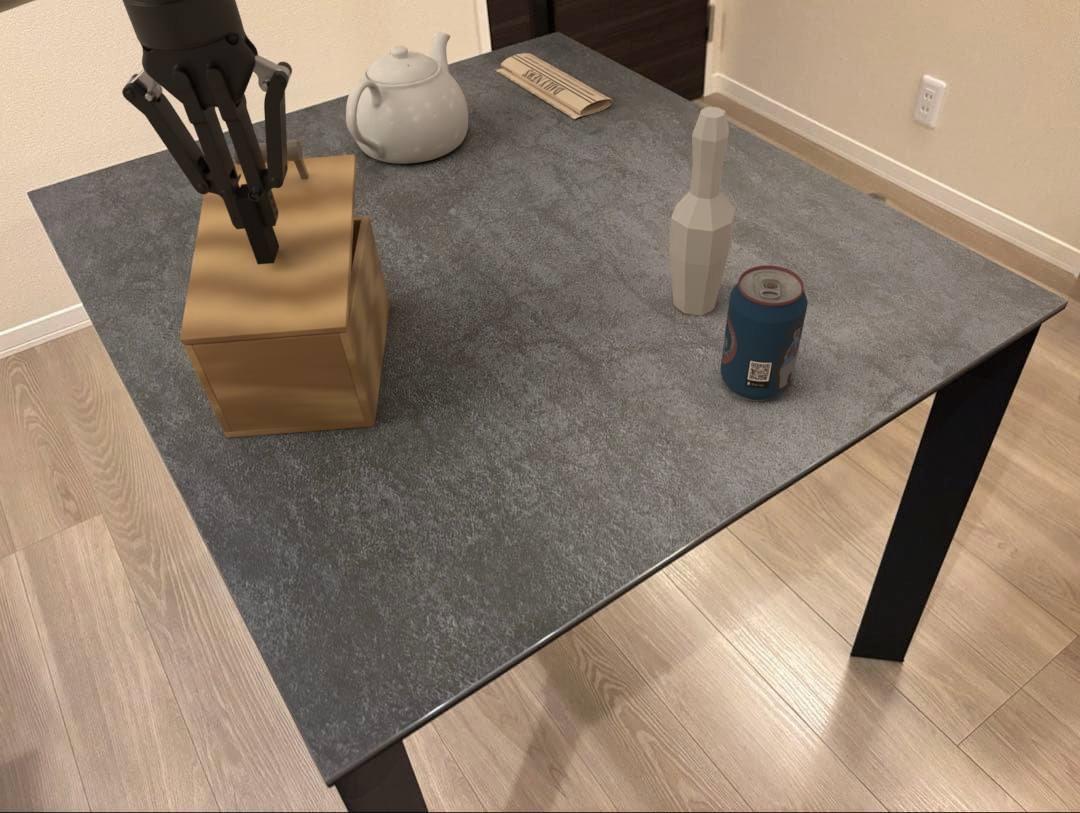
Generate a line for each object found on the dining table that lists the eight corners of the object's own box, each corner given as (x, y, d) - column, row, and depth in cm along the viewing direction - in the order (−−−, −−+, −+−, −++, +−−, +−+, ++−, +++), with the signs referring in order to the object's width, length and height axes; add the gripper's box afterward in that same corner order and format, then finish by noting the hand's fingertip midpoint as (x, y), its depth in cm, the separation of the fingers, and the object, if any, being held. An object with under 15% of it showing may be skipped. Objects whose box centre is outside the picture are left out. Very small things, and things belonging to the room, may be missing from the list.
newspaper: (612, 106, 128) (612, 95, 127) (574, 120, 126) (574, 108, 124) (531, 60, 143) (530, 49, 141) (496, 71, 140) (495, 61, 139)
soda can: (721, 355, 85) (733, 258, 77) (791, 362, 84) (811, 264, 76) (716, 402, 81) (729, 303, 72) (790, 410, 79) (811, 310, 71)
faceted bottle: (706, 327, 89) (727, 134, 73) (655, 307, 92) (665, 118, 76) (734, 297, 92) (759, 106, 77) (684, 279, 95) (699, 92, 80)
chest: (263, 314, 95) (231, 226, 87) (390, 304, 95) (369, 215, 87) (226, 438, 81) (183, 346, 73) (374, 426, 81) (348, 333, 73)
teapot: (343, 127, 128) (321, 37, 119) (457, 105, 132) (446, 15, 122) (360, 183, 116) (338, 87, 106) (487, 157, 119) (477, 62, 109)
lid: (211, 171, 83) (190, 132, 78) (356, 159, 83) (344, 120, 78) (183, 345, 73) (157, 311, 68) (348, 331, 73) (332, 297, 68)
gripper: (272, -47, 61) (344, 227, 78) (98, -33, 62) (207, 238, 78) (252, -13, 56) (334, 273, 73) (62, 3, 56) (187, 285, 73)
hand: (268, 255), depth 75 cm, fingers closed
